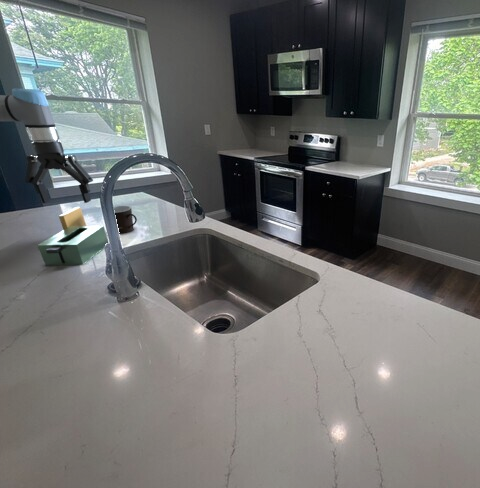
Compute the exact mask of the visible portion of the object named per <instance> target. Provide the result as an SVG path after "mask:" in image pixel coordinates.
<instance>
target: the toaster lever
mask: <svg viewBox="0 0 480 488" xmlns="http://www.w3.org/2000/svg"><path fill="white" fill-rule="evenodd" d="M62 250H63V249H62V247H50V248H49V249H47V250H46V252H47V254H50V253H59V252H61V251H62Z"/></svg>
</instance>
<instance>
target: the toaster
mask: <svg viewBox="0 0 480 488" xmlns="http://www.w3.org/2000/svg"><path fill="white" fill-rule="evenodd" d="M106 243H109V239H108V236H107V232H106V230H105V226H104V225H86V226H70V227H68V228H66V229H65V230H63V229H62V230H61V231H59V232H57V233H56V234H54V235H53V236H50V237H49V238H47V239H45V240H44V241H42V242H40V243H39V244H37V248H38V251H39V254H40V255H41V258H42V260H43V262H44V263H43V264H44V265H45V266H72V265H73V266H74V265H78V266H79V265H85V264H86V263H87V262H88V261H90V259H92V258H93V257H94V256H96V255H98V254H99V253H101V252H102V251H103V250H104V249H105V248H106V247H105V244H106ZM50 247H62V249H63V250H62V251H61V252H59V253H50V254H47V252H46V250H47V249H49V248H50Z"/></svg>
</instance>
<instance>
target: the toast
mask: <svg viewBox="0 0 480 488" xmlns="http://www.w3.org/2000/svg"><path fill="white" fill-rule="evenodd" d="M58 219H59V221H60V224H61V227H62V231H63V230H65V229H66V228H68V227H70V226H87V223H86V220H85V217H84V214H83V211H82V207H81V206H75V207H73V208H72V209H69V210H67V211H65V212H64V213H61V214H59V215H58Z"/></svg>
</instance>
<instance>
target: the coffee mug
mask: <svg viewBox="0 0 480 488" xmlns="http://www.w3.org/2000/svg"><path fill="white" fill-rule="evenodd" d="M113 207H114V210H115V215H116V219H117V224H118V228H119V232H120V234H119V235H126V234H130V233H132V232H133V231H135V229H134V225H135V224H137V222H138V218H137V216H136V215H134V213H133V209H132V206H130V205H115V206H113ZM133 218H134V220H133Z"/></svg>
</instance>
